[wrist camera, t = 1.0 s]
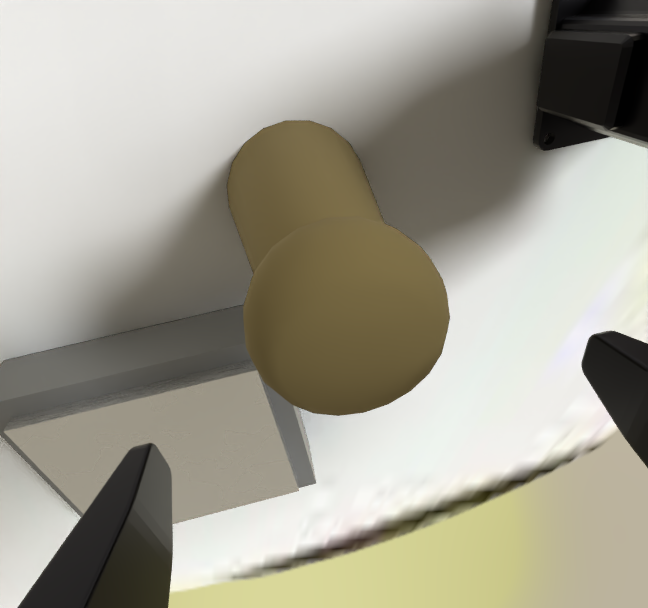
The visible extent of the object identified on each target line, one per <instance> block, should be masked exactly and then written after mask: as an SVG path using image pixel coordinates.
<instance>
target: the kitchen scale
mask: <svg viewBox="0 0 648 608" xmlns="http://www.w3.org/2000/svg"><path fill="white" fill-rule="evenodd" d="M0 435H1V436H2V437H3V438H4V439H5V440H6V441H7V442H8V443H9V444H10V445H11V446H12V447H13V448H14V449H15V450H16V451H17V452H18V453H19V454H20V455H21V456H22V457H23V458H24V459H25V461H26V462H27V463H28V464H29V465H30V466H31V467H32V468H33V469H34V470H35V471H36V472H37V473H38V474H39V475H40V476H41V477H42V478H43V479H44V480H45V481H46V482H47V483H48V484H49V485H50V486H51V487H52V488H53V489H54V490H55V491H56V492H57V493H58V494H59V495H60V496H61V497H62V498H63V499H64V500H65V501H66V502H67V503H68V504H69V505H70V506H71V507H72V508H73V509H74V510H75V511H76V512H77V513H78V514H79V515H80V516H81V517H82V516H83V514H84V513H85V511H86V510H87V509H88V507H89V506H90V504H91V503H92V502H93V500H94V499H95V497H96V496H97V495H98V493H99V492H100V490H101V489H102V487H103V486H104V485H105V483H106V482H107V480H108V479H109V478H110V476H111V475H112V473H113V472H114V470H115V469H116V468H117V466H118V465H119V463H120V462H121V461H122V459H123V458H124V456H125V455H126V454H127V452H128V451H129V450H130V449H131V448H133V447H135V446H139V445H143V444H147V443H153V444H155V445H156V446H157V448H158V449H159V451H160V452H161V454H162V455H163V457H164V458H165V460H166V462H167V463H168V465H169V467H170V470H171V475H172V524H175V523H179V522H182V521H186V520H190V519H194V518H198V517H201V516H205V515H209V514H213V513H217V512H220V511H224V510H228V509H232V508H236V507H239V506H243V505H247V504H251V503H255V502H258V501H262V500H266V499H270V498H274V497H277V496H281V495H285V494H289V493H293V492H297V491H299V488H300V487H304V486H308V485H312V484H316V479H315V474H314V469H313V463H312V458H311V453H310V447H309V442H308V439H307V435H306V432H305V428H304V425H303V421H302V418H301V414H300V411H299V407H297V406H294V405H292V404H291V403H289V402H288V401H287V400H285V399H284V398H283V397H282V396H280V395H279V394H278V393H277V392H276V391H274V390H273V389H272V388H271V387H269V386H268V385H267V384H266V383H265V382H264V381H263V380H262V378H261V376H260V374H259V372H258V370H257V369H256V367H255V365H254V363H253V361H252V359H251V357H250V355H249V353H248V351H247V348H246V343H245V332H244V322H243V305H241V306H236V307H232V308H228V309H224V310H219V311H215V312H211V313H206V314H202V315H198V316H193V317H189V318H185V319H181V320H176V321H172V322H168V323H163V324H159V325H155V326H150V327H146V328H142V329H137V330H133V331H129V332H125V333H120V334H116V335H112V336H107V337H103V338H99V339H94V340H90V341H86V342H82V343H77V344H73V345H69V346H64V347H60V348H56V349H51V350H47V351H43V352H39V353H34V354H30V355H26V356H21V357H17V358H13V359H8V360H4V361H3V363H2V364H1V366H0Z"/></svg>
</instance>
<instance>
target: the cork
mask: <svg viewBox="0 0 648 608" xmlns="http://www.w3.org/2000/svg"><path fill="white" fill-rule="evenodd" d="M227 192H228V202H229V208H230V211H231V214H232V216H233V219H234V222H235V225H236V227H237V230H238V233H239V236H240V238H241V241H242V244H243V246H244V249H245V252H246V255H247V257H248V260H249V263H250V266H251V268H252V271H253V274H254V275H253V277H252V279H251V282H250V286H249V289H248V292H247V296H246V299H245V302H244V305H243V322H244V332H245V343H246V348H247V351H248V353H249V355H250V357H251V359H252V361H253V363H254V365H255V367H256V369H257V370H258V372H259V374H260V376H261V378H262V380H263V381H264V382H265V383H266V384H267V385H268V386H269V387H271V388H272V389H273V390H274V391H276V392H277V393H278V394H279V395H280V396H282V397H283V398H284V399H285V400H287V401H288V402H289V403H291V404H292V405H294V406H297V407H299V408H302V409H304V410H307V411H310V412H312V413H317V414H327V415H337V416H340V415H348V414H356V413H364V412H367V411H370V410H372V409H375V408H378V407H381V406H384V405H387V404H389V403H391V402H393V401H394V400H396V399H398V398H399V397H401V396H403V395H405V394H406V393H408V392H410V391H411V390H412V389H413V388H414V387H415V386H416V385H417V384H418V383H420V382H421V381H422V380H423V379H424V378H425V377H426V376H427V375H428V374H429V373H430V371H431V370H432V368H433V366H434V365H435V363H436V362H437V360H438V358H439V357H440V355H441V354H442V350H443V346H444V342H445V338H446V334H447V330H448V325H449V319H450V315H449V307H448V299H447V293H446V289H445V286H444V283H443V279H442V278H441V276H440V274H439V273H438V271H437V269H436V268H435V266H434V264H433V263H432V261H431V259H430V258H429V256H428V255H427V254H426V253H425V251H424V250H423V249H422V248H421V247H420V246H419V245H418V244H417V243H415V242H414V241H413V240H411V239H410V238H408V237H407V236H406V235H404V234H403V233H402V232H400V231H399V230H397V229H396V228H394V227H391V226H389V225H387V224H385V223H384V220H383V218H382V215H381V213H380V210H379V207H378V205H377V202H376V200H375V197H374V195H373V192H372V190H371V187H370V185H369V182H368V180H367V177H366V174H365V172H364V169H363V167H362V164H361V162H360V160H359V158H358V157H357V155H356V153H355V152H354V150H353V149H352V147H351V145H350V144H349V142H348V141H346V140H345V139H344V138H343V137H341V136H340V135H339V134H338V133H337V132H335V131H334V130H333V129H332V128H329V127H326V126H323V125H321V124H318V123H315V122H312V121H283V122H280V123H278V124H275V125H272V126H269V127H266V128H263V129H262V130H261V131H259V132H258V133H257V134H256V135H254V136H253V137H252V138H251V139H249V140H248V141H247V142H246V143H244V145H243V147H242V148H241V150H240V151H239V153H238V155H237V156H236V158H235V159H234V161H233V162H232V165H231V170H230V174H229V178H228V182H227Z"/></svg>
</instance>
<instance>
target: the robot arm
mask: <svg viewBox="0 0 648 608" xmlns="http://www.w3.org/2000/svg"><path fill="white" fill-rule="evenodd" d="M537 106H538V109H537V116H536V123H535V131H534V138H533V143H534V145H535V147H537V148H539V149H541V150H544V151H546V150H552V149H557V148H561V147H566V146H570V145H575V144H579V143H584V142H589V141H593V140H598V139H602V138H607V137H614V138H617V139H620V140H623V141H626V142H629V143H632V144H635V145H638V146H641V147H645V148H648V0H553V2H552V10H551V17H550V24H549V31H548V37H547V39H546V41H545V49H544V56H543V63H542V70H541V78H540V85H539V92H538V99H537ZM547 134H549V138H548V139H547V141H545V142H544V138H545V136H546V135H547ZM582 370H583V373H584V375H585V376H586V378H587V380H588V381H589V383H590V384H591V386H592V387H593V389H594V391H595V392H596V394H597V395H598V397H599V399H600V400H601V402H602V403H603V405H604V406H605V408H606V410H607V411H608V413H609V414H610V416H611V418H612V419H613V421H614V422H615V424H616V425H617V427H618V429H619V430H620V431H621V433H622V434H623V436H624V437H625V439H626V440H627V441H628V443H629V444H630V446H631V447H632V448H633V450H634V451H635V452H636V453H637V455H638V456H639V457H640V459H641V460H642V461H643V462H644V463H645V465H646V466H647V468H648V344H647V343H644V342H642V341H639V340H637V339H634V338H631V337H629V336H626V335H624V334H621V333H618V332H615V331H605V332H601V333H597V334H594V335H592V336H591V337H590V338H589V340H588V343H587V346H586V349H585V353H584V356H583V359H582ZM172 557H173V531H172V475H171V470H170V467H169V465H168V463H167V462H166V460H165V458H164V457H163V455H162V454H161V452H160V451H159V449H158V448H157V446H156V445H155V444H153V443H147V444H143V445H139V446H135V447H133V448H131V449H130V450H129V451H128V452H127V454H126V455H125V456H124V458H123V459H122V461H121V462H120V463H119V465H118V466H117V468H116V469H115V470H114V472H113V473H112V475H111V476H110V478H109V479H108V480H107V482H106V483H105V485H104V486H103V487H102V489H101V490H100V492H99V493H98V495H97V496H96V497H95V499H94V500H93V502H92V503H91V504H90V506H89V507H88V509H87V510H86V511H85V513H84V514H83V516H82V517H81V519H80V520H79V521H78V523H77V524H76V526H75V527H74V528H73V530H72V531H71V533H70V534H69V536H68V537H67V538H66V540H65V541H64V543H63V544H62V545H61V547H60V548H59V550H58V551H57V552H56V554H55V555H54V557H53V558H52V560H51V561H50V562H49V564H48V565H47V567H46V568H45V569H44V571H43V572H42V574H41V575H40V577H39V578H38V579H37V581H36V582H35V584H34V585H33V586H32V588H31V589H30V591H29V592H28V593H27V595H26V596H25V598H24V599H23V601H22V602H21V603H20V605H19V606H18V608H168V602H169V592H170V581H171V571H172Z"/></svg>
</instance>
